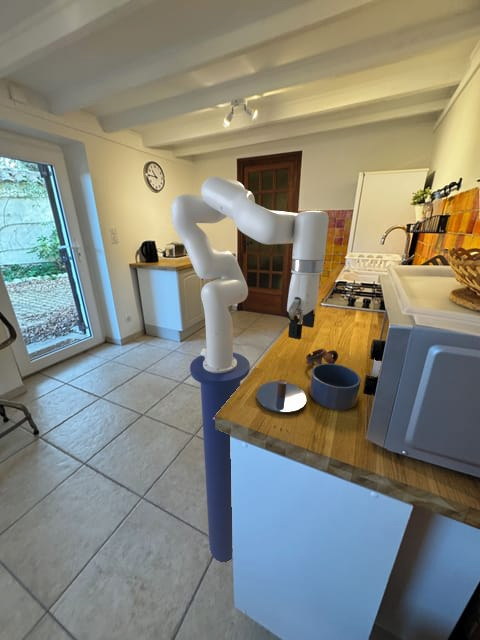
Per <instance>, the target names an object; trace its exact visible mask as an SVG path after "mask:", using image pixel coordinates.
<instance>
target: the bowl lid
mask: <svg viewBox="0 0 480 640" xmlns="http://www.w3.org/2000/svg"><path fill="white" fill-rule="evenodd" d="M256 399H257V401H258V402H259V404H260V405H261V406H262V407H264V408H265V409H267V410H269V411H271V412H274V413H278V414H292V413H296V412H299V411H301V410H302V409H303V408H304V407H305V406H306V404H307V394H306V393H305V391H304V390H303V389H302V388H301V387H300V386H297V385H295V384H293V383H291V382H288V381H286V379H281V378H280V379H278V381H269V382H266V383H263V384H262V385H261V386H259V388H258V389H257V391H256Z"/></svg>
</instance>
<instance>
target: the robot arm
mask: <svg viewBox="0 0 480 640" xmlns="http://www.w3.org/2000/svg"><path fill="white" fill-rule="evenodd" d="M227 218H228V219H231V220H233V222H234V224H235V226H236V228H237V229H238V231H240V232H241V233H242V234H244V235H246V236H247V237H249V238H250V239H253V240H254V241H256V242H258V243H259V244H262V245H267V246H268V245H287V244H292V255H291V256H292V257H291V258H292V259H291V270H290V271H291V273H292V274H291V278H290V283H289V286H288V287H289V288H288V297H287V306H286V311H287V313H288V333H287V334H288V335H287V336H288V338H291V339H294V340H298V341H299V340H301V339H302V333H303V327H305V328H312V329H313V328H314V327H315V318H316V311H317V310H316V307H317V305H318V301H319V300H318V299H319V292H320V291H319V290H320V275H323V274H324V267H325V257H326V249H327V239H328V230H329V221H330V217H329V214H328V213H327V212H326V211H323V210H305V211H300V212H290V211H289V212H288V211H281V210H271V209H268V208H265V207H264V206H262V205H259V204H258V203H256V200H255V196H254V194H253V193H252V191H250V190H248V189H246V188H245V185H243V184H242V182H240V181H238V180H236V179H232V178H227V177H222V176H210V177H208V178H207V179H205V180H204V181H203V183H202V185H201V187H200V194H198V195H197V194H189V193H187V194H185V193H184V194H180V195H178V196H176V197H174V199H173V200H172V202H171V207H170V219H171V222H172V223H171V224H172V225H173V228H174V230H175V232H176V234H177V235H178V237H179V240H180V241H181V242H182V244H183V246H184V248H185V251H186V253H187V256H188V259H189V260H190V262H191V263H190V264H191V266H192V268H193V270H194V272H195V274H196V276H197V277H198V278H199V279H201V280H212V279H215V280H212V281H209V282H207V283H205V284H204V286H203V287H202V288H201V291H200V299H201V302H202V303H201V304H202V306H203V312H204V320H205V322H204V323H205V344H206V345H205V346H206V348H204V347H203V348H202V349H201V352H200V353H199V356H204V357H205V360H204V362H203V367H204V369H205V370H207V371H209V372H212V373H226V372H230V371H232V370H233V369H235V368H236V366H237V360H236V359H235V358H234V357H233V353H234V328H233V327H234V323H233V317H232V313H231V312H230V310H229V307H231V306H234V305H237V304H240V303H242V302H245V300H246V299H247V297H248V295H249V288H248V284H247V281H246V279H245V277H244V274H243V272H242V269H241V266H240V265H239V262H238V259H237V258H236V257H235V255H234V254H233V253H232V252H231V251H229V250H227V249H215V248H213V246H212V244H211V242H210V239H209V237H208V236H207V234H206V232H205V231H204V230H203V229H202V228H201V227H200V226H198V224H216V223H219V222H221V221H223V220H224V219H227ZM219 278H220V279H219ZM298 316H299V317H298Z"/></svg>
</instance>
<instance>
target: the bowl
mask: <svg viewBox="0 0 480 640" xmlns="http://www.w3.org/2000/svg"><path fill="white" fill-rule="evenodd" d="M361 382H362V379H361V376H360V375H359V374H358V373H357V372H356V371H355V370H353V369H352V368H350V367H347V366H345V365H342V364H337V363H335V364H328V363H327V362H325V363H322V364H317V365H315V366H314V367H313V368H311V372H310V382H309V395H310V398H311V399H312V400H313V401H314V402H315V403H317V404H318V405H320V406H322V407H324V408H327V409H331V410H336V411H345V410H350V409H352V408H354V407H355V406H356V404H357V401H358V398H359V392H360V387H361Z"/></svg>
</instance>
